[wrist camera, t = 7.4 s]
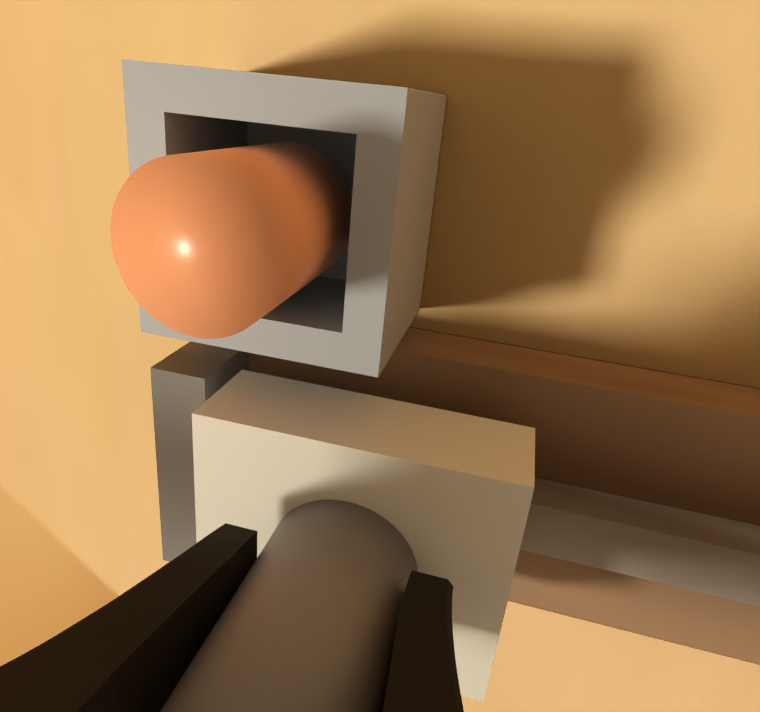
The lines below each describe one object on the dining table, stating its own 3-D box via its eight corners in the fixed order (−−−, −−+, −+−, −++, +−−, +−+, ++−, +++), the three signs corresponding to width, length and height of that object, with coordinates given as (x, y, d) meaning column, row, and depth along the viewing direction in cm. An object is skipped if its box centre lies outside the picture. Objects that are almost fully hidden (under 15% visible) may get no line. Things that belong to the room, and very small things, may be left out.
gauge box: (419, 308, 14) (378, 377, 10) (238, 278, 15) (141, 331, 11) (447, 95, 12) (407, 86, 8) (238, 74, 13) (121, 59, 9)
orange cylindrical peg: (349, 286, 11) (277, 353, 8) (229, 266, 12) (118, 322, 9) (359, 149, 10) (282, 166, 7) (228, 134, 11) (102, 143, 8)
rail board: (1138, 710, 13) (1324, 896, 10) (232, 492, 17) (164, 575, 14) (1334, 489, 11) (1655, 641, 8) (230, 296, 15) (148, 345, 12)
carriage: (491, 622, 13) (453, 1012, 8) (241, 557, 14) (43, 854, 9) (535, 427, 11) (531, 757, 6) (242, 369, 12) (-16, 593, 7)
